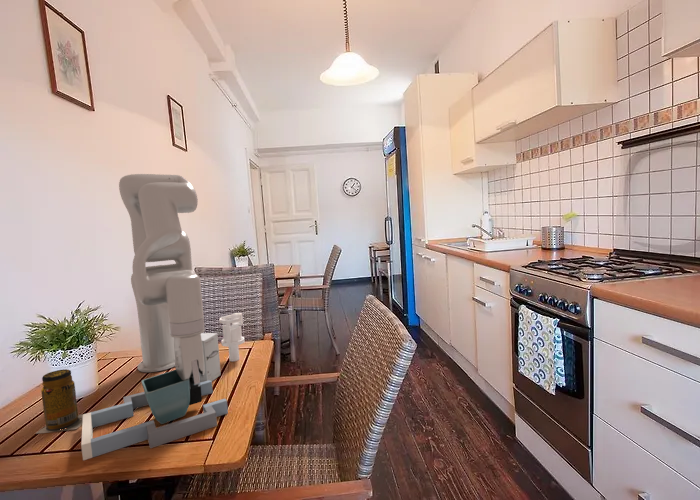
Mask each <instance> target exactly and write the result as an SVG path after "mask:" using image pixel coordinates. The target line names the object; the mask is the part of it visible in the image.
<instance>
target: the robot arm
mask: <svg viewBox="0 0 700 500" xmlns="http://www.w3.org/2000/svg"><path fill="white" fill-rule="evenodd" d="M118 189H119V195H120V198H121V201H122V203H123V205H124V206H125V209H126V210H127V212H128V216H129V218H130V225H131V235H132V244H133V246H132V247H133V253H134V257H133V260H132V274H131V275H130V284H131V288H132V291H133V295H134V299H135V303H136V308H137V310H136V311H137V319H138V326H139V327H138V328H139V329H138V330H139V337H140V347H141V357H142V361H141V362H140V363H138V364H137V370H138V371H139V372H141V373H156V372H161V371H166V370H169V369H171V368H174V367H175V369H174V370H176V372H177V373H178V375H179V376H180V378H181V379H182V380H183V381H185V380H186V379H189V384H190V403H189V406H191V405H195V404H199V403H201V402H202V401H203V396H202V394H201V385H200V375H201V376H203V375H204V374H205V365H204V355H203V346H202V339H201V333H205V331H206V329H205V326H206V325H205V317H204V309H203V308H204V306H203V296H202V284H201V283H202V282H201V278H200V276H199V275H198V274H196V272H195V271H193V263H192V249H191V243H190V238H189V236H188V234H187V232H185V231H183V230H182V226H181V221H180V218H179V214H184V213H185V214H186V213H187V214H189V213H193V212H195V211H196V210H197V208H198V195H197V192H196V189H195V187H194V186H193V185H192V183H191V182H190V181H188V179H186V178H185V177H184V176H182V175H179V174H154V173H153V174H152V173H133V174H132V173H131V174H127V175H124V176H122V177H121V178H120V180H119V182H118ZM166 261H175V263H168V264H159V265H152V266H151V265H149V266H146V264H147V263H155V262H166Z"/></svg>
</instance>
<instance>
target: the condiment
mask: <svg viewBox="0 0 700 500" xmlns="http://www.w3.org/2000/svg"><path fill="white" fill-rule="evenodd" d="M41 381H42V386H43V387H42V389H41V400H42V409H43V416H44V417H43V418H44V425H45V426H43V427H42V428H41V429H39V430H38V431H37V432H35V434H36V435H37V434H45V433H49V434H50V433H55V432H56V433H57V432H60V431H61V432H64V431H69V430H78V428H80V427H82V423H83V414H79V411H78V402H77V395H76V393H77V392H76V385H75V381H74V380H73V375H72V370H70V369H68V368H67V369H59V370H53V371H51V372H47V373H46V374H44V375H43V376H42V378H41ZM65 428H67V429H65ZM60 429H61V430H60ZM62 429H63V430H62Z"/></svg>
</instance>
